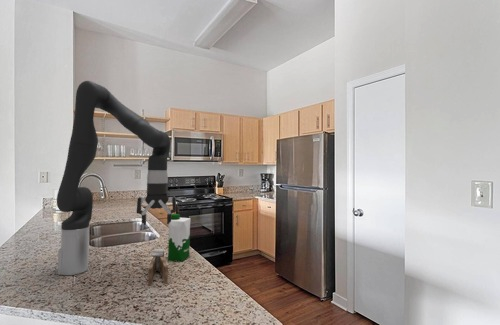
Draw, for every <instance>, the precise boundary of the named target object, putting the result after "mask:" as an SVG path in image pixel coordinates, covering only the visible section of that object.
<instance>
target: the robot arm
mask: <svg viewBox="0 0 500 325" xmlns="http://www.w3.org/2000/svg"><path fill="white" fill-rule="evenodd" d="M96 109H100V110H102V111H105V112H107V113H108V114H110V115H112V116H113V117H114V119H116V120H117V121H118V122H119V124H121V126H122V127H124V128H125V129H127V130H128V131H129V132H130V133H131V134H134V135H135V136H137V137H138V138H139V139H140V140H141V141H142V143H144V144H145V145H147V146H148V147H150V148H152V153H151V155H149V156H148V159H147V175H146V197H143V196H142V197H141V196H139V197H137V202H136V214H137V215H138V214H139V215H141V224H142V225H143V226H146V225H147V213H148V211H149V210H150V209H152V210H153V209H154V210H155V209H163V210H165V212H167V216H166V217H167V218H166V225H168V224H169V222H171V214H176V213H177V199H176V196H170V197H169V195H168V187H169V186H168V183H169V177H168V156H169V153H170V149H171V148H170V147H171V138H170V136H169V135H168V133H167V132H165V131H162V130H159V129H157V128H155V127H154V126H153V125H151V124H150V122H149V121H148V120H146V119H145V118H144V117H142V116H141V115H139V114H138V113H136V112H135V111H133V110H131V109H130V108H128V107H127V106H126V105H125V104H123V103H122V102H121V101H119V99H117V97H115V96H114V95H113V94H112V93H111V92H110V91H109V89H108V88H106V87H105V86H103V85H101V84H99V83H96V82H93V81H90V80H84V81H82V82H81V83H80V84H79V85H78V86H77V89H76V93H75V106H74V118H73V123H72V124H73V125H72V130H71V136H70V140H69V145H68V150H67V151H68V152H67V159H66V163H65V167H64V170H63V175H62V179H61V182H60V185H59V189H58V191H57V196H56V206H57V208H58V209H59V211H61V212H63V213H68V212H69V213H70V212H72V213H71V215H69V217H67V218H66V219H65V220H63V221H62V222H61V226H60V227H61V232H60V235H61V236H60V248H59V249H58V251H57V252H58V253H57V254H58V258H57V275H60V276H73V275H78V274H82V273H85V272H87V271H88V270H89V256H90V255H89V254H90V253H89V252H90V251H89V250H90V249H89V248H90V246H89V245H90V222H91V220H92V216H93V215H92V214H93V204H94V198H93V197H94V196H93V192H92V191H91V190H90V188H88V187H86V186H83V187H81V186H79V185H80V181H81V179H82V176H83V175H84V173H85V172H86V171H87V170H88V168H89V167H90V166H91V164H92V163H93V162H94V161H95V158H96V155H97V151H98V144H99V139H98V138H99V137H98V134H97V131H96V127H95V124H94V121H95V120H94V115H95V110H96ZM144 202H146V204H147V206H146V207H145V208H144V209H143V210H142V206H143V205H142V204H143V203H144ZM168 202H170V204H171V206H172V209H170V208H169V206H168V204H167V203H168Z"/></svg>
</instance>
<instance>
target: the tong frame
mask: <svg viewBox="0 0 500 325" xmlns="http://www.w3.org/2000/svg"><path fill="white" fill-rule="evenodd" d="M155 256H163V258H164V259H165V248H155V249H153V252H152V254H151V257H152V259H151V262H150V264H149V267H148V271H147V274H148V276H147V279H148V280H147V283H148V284H147V286H148V287H152V285H153V282H154V279H155V275H156V271H157V270H156V257H155Z"/></svg>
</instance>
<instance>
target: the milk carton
mask: <svg viewBox="0 0 500 325" xmlns="http://www.w3.org/2000/svg"><path fill="white" fill-rule="evenodd" d="M167 226H168V251H167V252H168V253H167V261H172V262H180V263H181V262H182V263H183V262H184V261H185V260H187V259H188V258H189V257H190V247H191V245H190V244H191V243H190V242H191V241H190V239H191V237H190V236H191V218H190V217H189V218H188V217H181V215H180V213H172V214H171V222H169V224H167Z"/></svg>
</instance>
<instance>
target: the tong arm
mask: <svg viewBox="0 0 500 325" xmlns="http://www.w3.org/2000/svg"><path fill="white" fill-rule="evenodd" d="M155 257H156V271H158V272H160V275H161V278H162V280H163V283H164V284H167V283H169V279H168V278H169V265H168V264H167V261H166V260H165V257H164V258H163V256H155Z"/></svg>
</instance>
